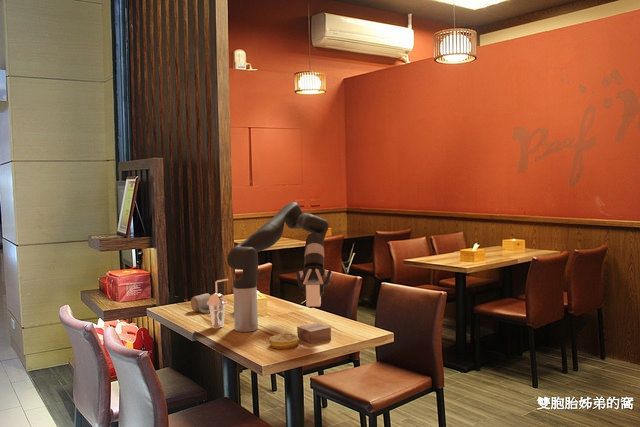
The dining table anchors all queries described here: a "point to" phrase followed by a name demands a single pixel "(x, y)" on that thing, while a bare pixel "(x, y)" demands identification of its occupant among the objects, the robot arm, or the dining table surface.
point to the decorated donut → (284, 341)
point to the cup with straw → (217, 307)
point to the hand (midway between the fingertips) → (313, 294)
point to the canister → (313, 293)
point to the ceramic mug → (200, 303)
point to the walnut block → (314, 333)
